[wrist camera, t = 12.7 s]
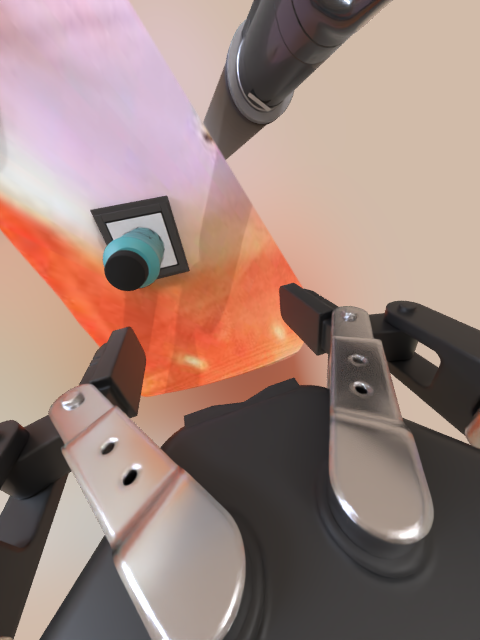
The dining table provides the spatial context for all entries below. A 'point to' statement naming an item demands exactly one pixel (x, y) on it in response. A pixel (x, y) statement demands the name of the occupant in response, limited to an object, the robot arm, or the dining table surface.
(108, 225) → the pan
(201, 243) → the dining table surface
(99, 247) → the dining table surface
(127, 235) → the beverage bottle
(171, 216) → the scale
